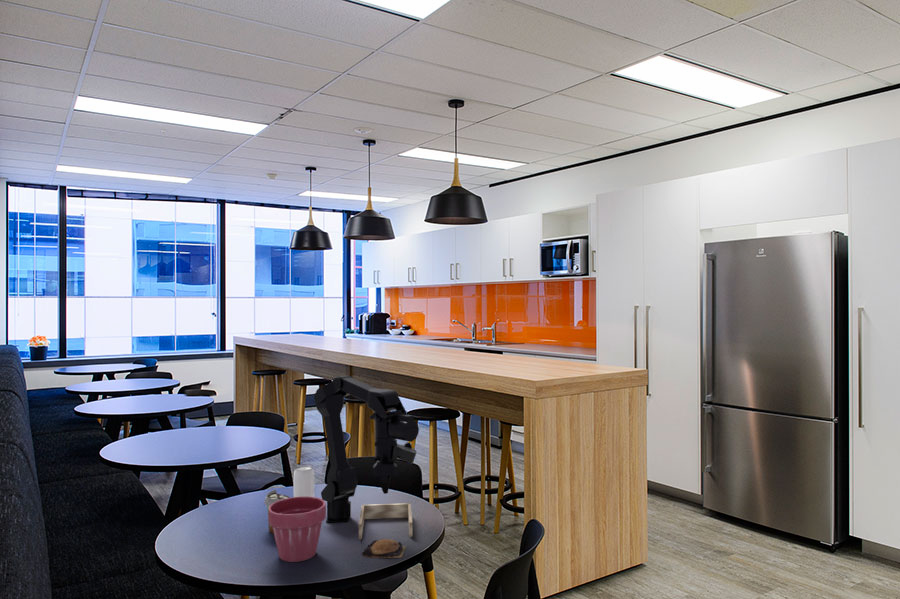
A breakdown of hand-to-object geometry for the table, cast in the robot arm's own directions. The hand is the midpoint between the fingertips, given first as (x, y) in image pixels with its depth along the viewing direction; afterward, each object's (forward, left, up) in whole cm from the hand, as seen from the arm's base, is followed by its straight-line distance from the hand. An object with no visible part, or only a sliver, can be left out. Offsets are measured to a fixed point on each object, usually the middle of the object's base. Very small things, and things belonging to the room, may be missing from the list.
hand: (385, 493), depth 169 cm
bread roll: (0, -11, -12) cm, 17 cm away
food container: (-31, +7, -12) cm, 33 cm away
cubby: (0, +7, -12) cm, 13 cm away
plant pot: (-22, -11, -12) cm, 28 cm away
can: (-26, +29, -12) cm, 41 cm away
